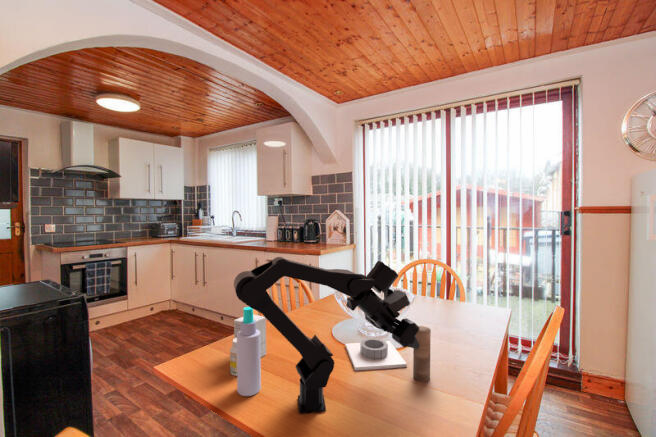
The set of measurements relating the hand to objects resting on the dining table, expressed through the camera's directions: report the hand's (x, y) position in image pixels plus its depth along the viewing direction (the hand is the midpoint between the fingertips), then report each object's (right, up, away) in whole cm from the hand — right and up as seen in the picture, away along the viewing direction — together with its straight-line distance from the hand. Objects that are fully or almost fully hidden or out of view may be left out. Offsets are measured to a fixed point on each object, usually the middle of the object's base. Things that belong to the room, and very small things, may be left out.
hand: (407, 340), depth 85 cm
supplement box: (-48, -11, +15) cm, 51 cm away
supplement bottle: (-48, -12, +6) cm, 50 cm away
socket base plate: (-7, -11, +15) cm, 20 cm away
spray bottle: (-43, -12, -4) cm, 45 cm away
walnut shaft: (+4, -11, +2) cm, 12 cm away
